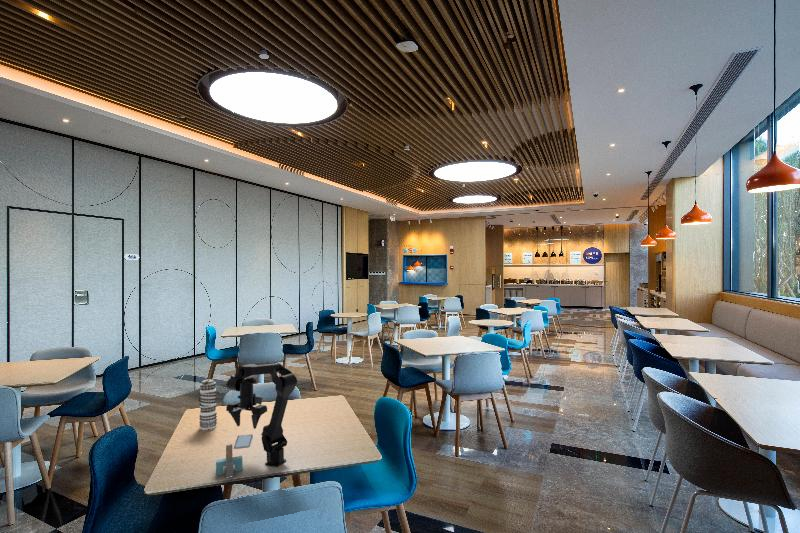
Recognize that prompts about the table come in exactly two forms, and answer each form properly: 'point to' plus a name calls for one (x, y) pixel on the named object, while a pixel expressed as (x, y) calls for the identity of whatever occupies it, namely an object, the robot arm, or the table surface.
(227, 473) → the slotted bar
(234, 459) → the blue brown t-shaped block
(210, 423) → the decorative candle
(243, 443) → the smartphone
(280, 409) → the robot arm
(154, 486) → the table surface
